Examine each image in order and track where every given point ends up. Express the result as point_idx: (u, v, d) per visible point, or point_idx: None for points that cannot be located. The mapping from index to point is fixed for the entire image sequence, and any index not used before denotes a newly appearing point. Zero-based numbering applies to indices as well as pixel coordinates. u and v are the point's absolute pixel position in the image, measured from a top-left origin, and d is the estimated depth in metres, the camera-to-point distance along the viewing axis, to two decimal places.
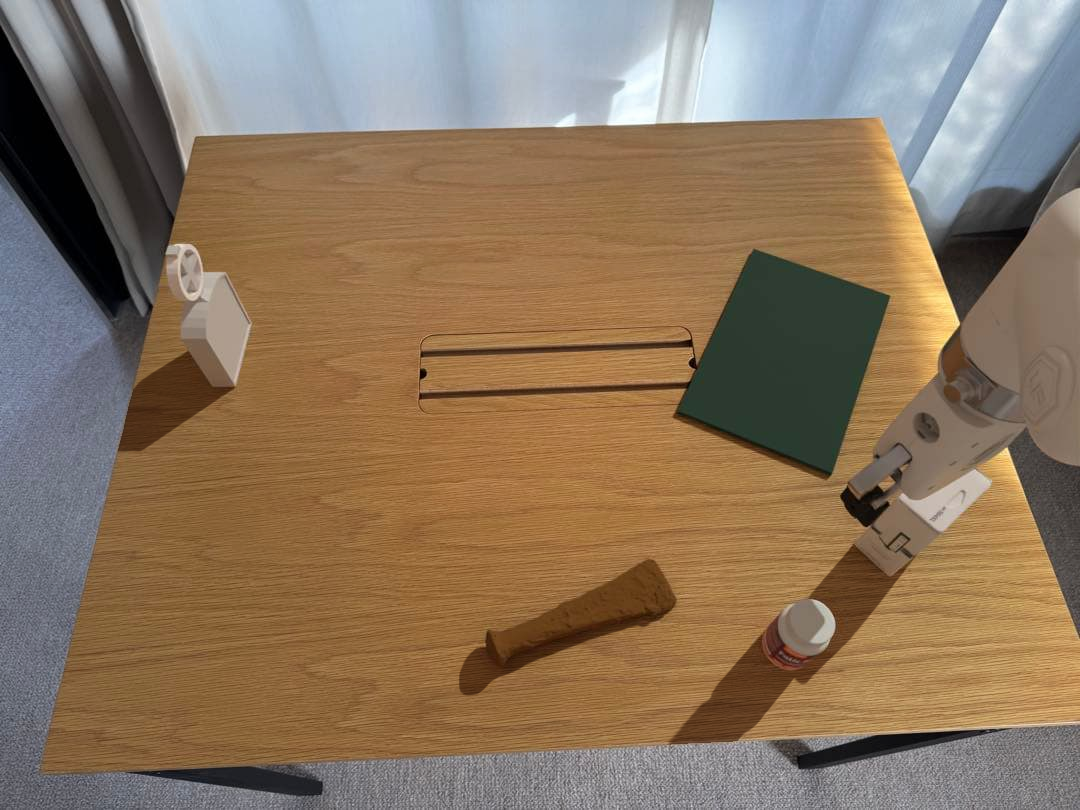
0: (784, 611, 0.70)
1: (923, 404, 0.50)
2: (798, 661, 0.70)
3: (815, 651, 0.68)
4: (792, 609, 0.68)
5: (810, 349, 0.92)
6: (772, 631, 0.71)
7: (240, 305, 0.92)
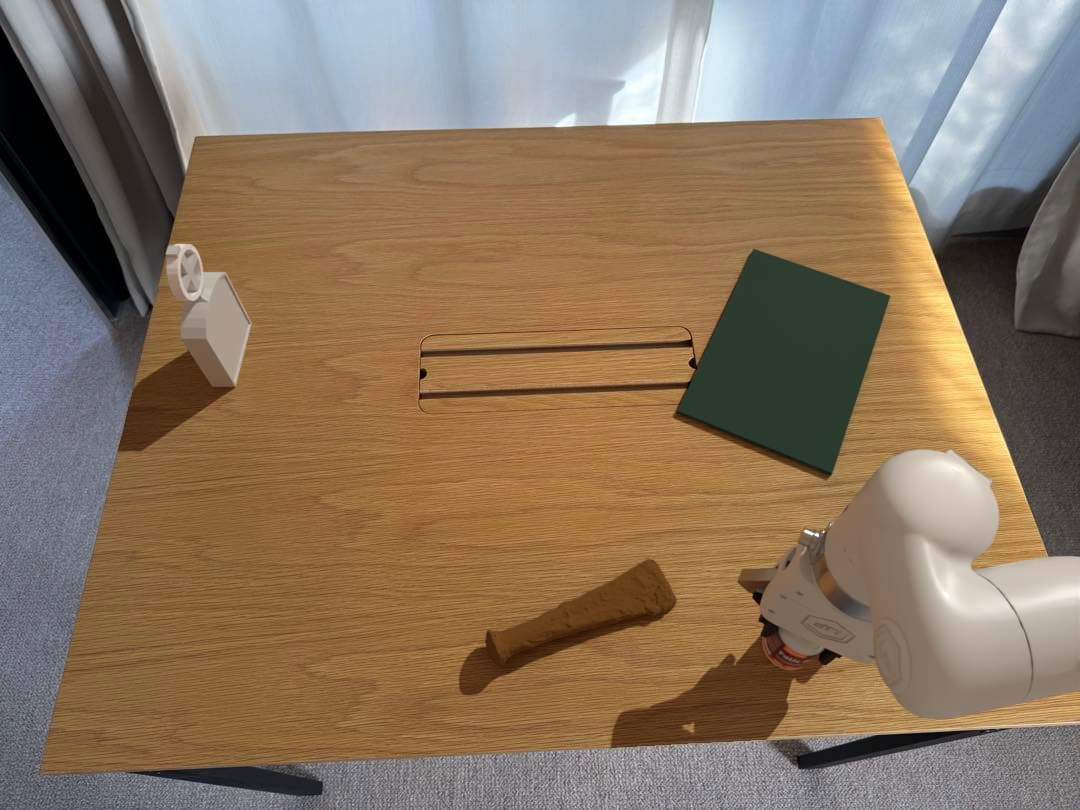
0: None
1: None
2: (798, 661, 0.70)
3: (815, 651, 0.68)
4: None
5: (810, 349, 0.92)
6: None
7: (240, 305, 0.92)
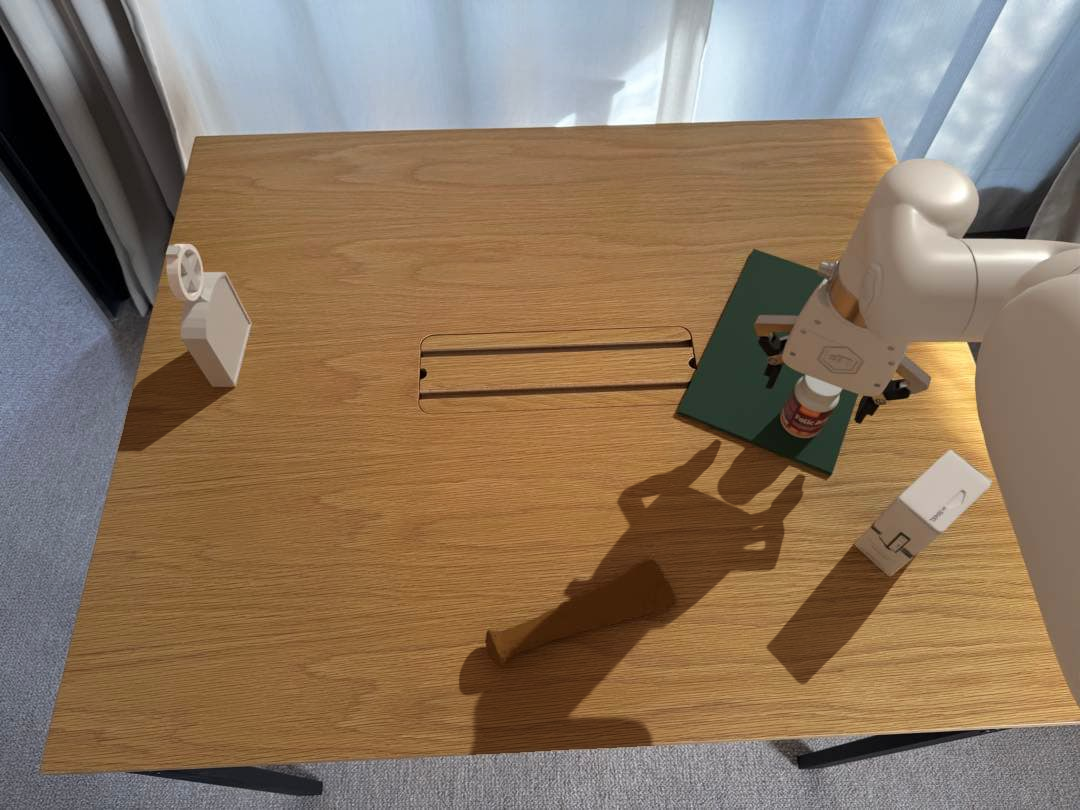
0: (800, 379, 0.82)
1: (818, 285, 0.72)
2: (811, 422, 0.83)
3: (826, 407, 0.81)
4: None
5: None
6: (789, 400, 0.84)
7: (240, 305, 0.92)
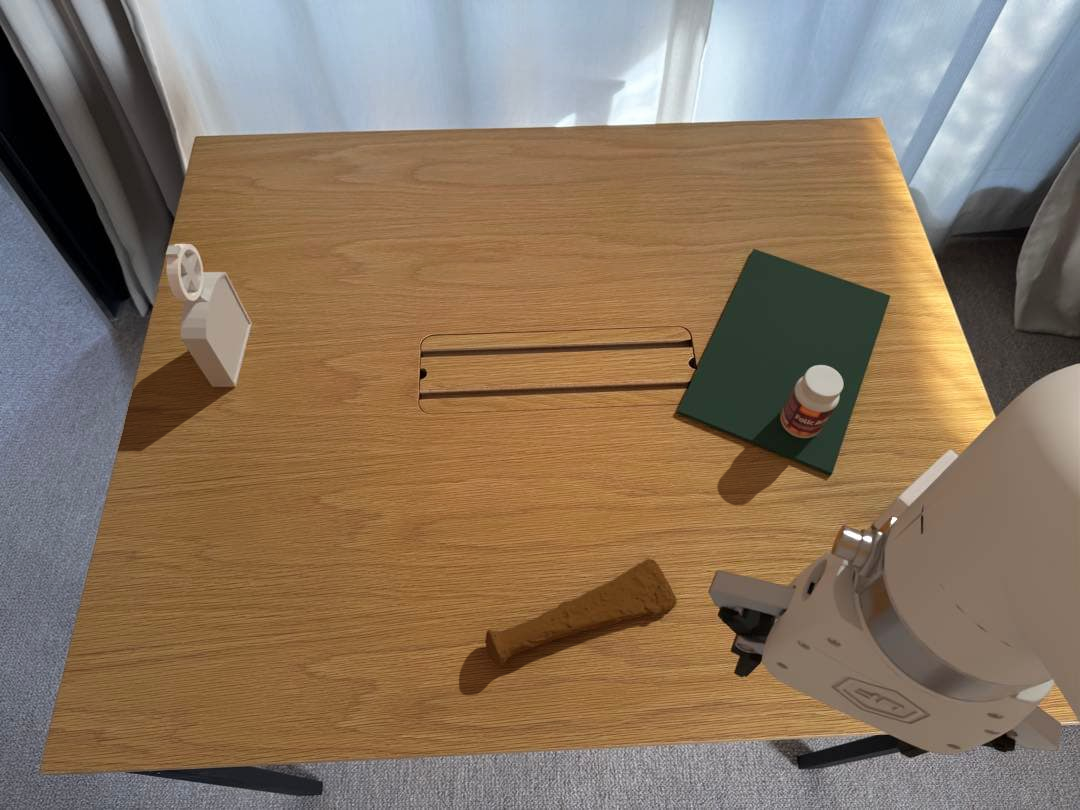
0: (800, 379, 0.82)
1: None
2: (812, 422, 0.83)
3: (826, 407, 0.81)
4: (807, 372, 0.80)
5: (810, 349, 0.92)
6: (789, 400, 0.84)
7: (240, 305, 0.92)
